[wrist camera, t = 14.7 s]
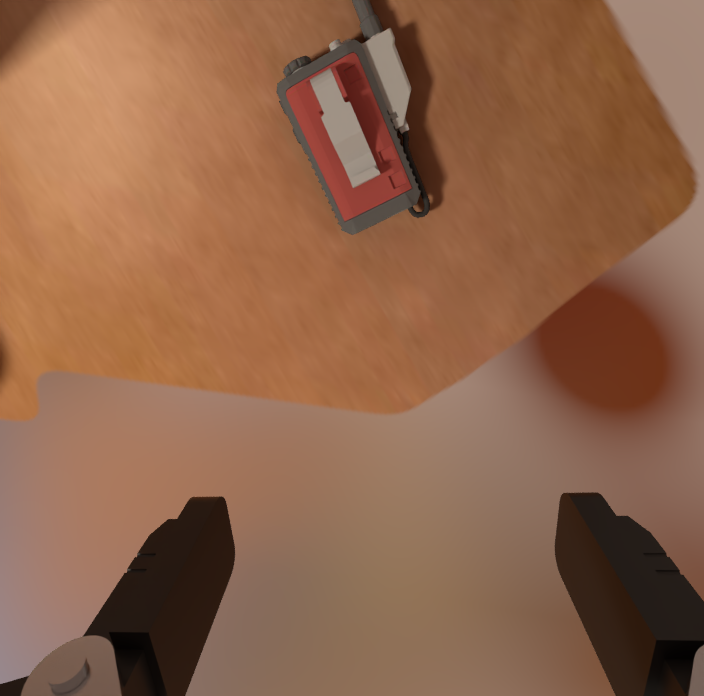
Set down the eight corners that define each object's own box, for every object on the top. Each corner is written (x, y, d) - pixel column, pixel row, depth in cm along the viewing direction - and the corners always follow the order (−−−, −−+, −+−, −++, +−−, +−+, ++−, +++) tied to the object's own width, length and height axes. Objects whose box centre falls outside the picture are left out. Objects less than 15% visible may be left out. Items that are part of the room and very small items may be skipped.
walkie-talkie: (453, 200, 35) (340, -92, 29) (462, 202, 31) (334, -137, 25) (351, 249, 37) (227, -18, 31) (348, 257, 33) (203, -49, 27)
